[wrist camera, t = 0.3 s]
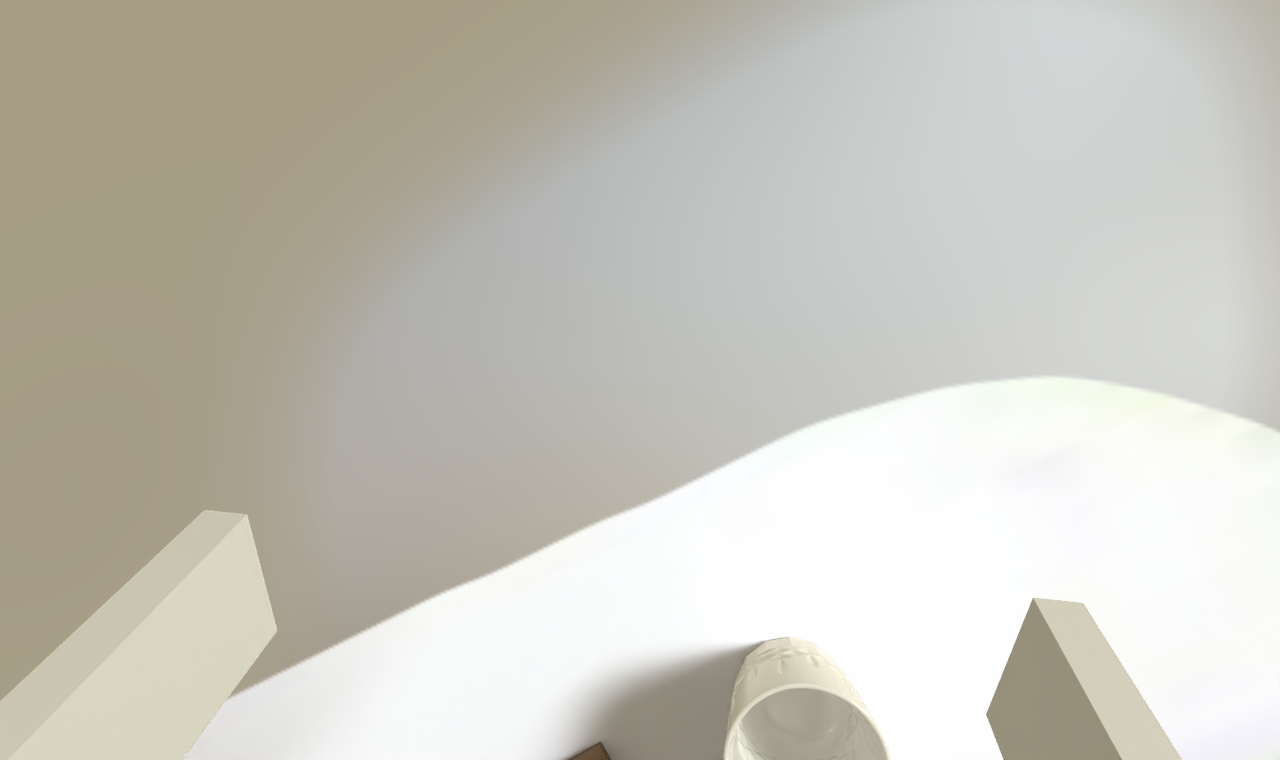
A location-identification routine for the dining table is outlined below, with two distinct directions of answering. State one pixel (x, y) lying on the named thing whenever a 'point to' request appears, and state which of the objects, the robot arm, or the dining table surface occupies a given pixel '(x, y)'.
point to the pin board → (593, 753)
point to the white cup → (798, 708)
